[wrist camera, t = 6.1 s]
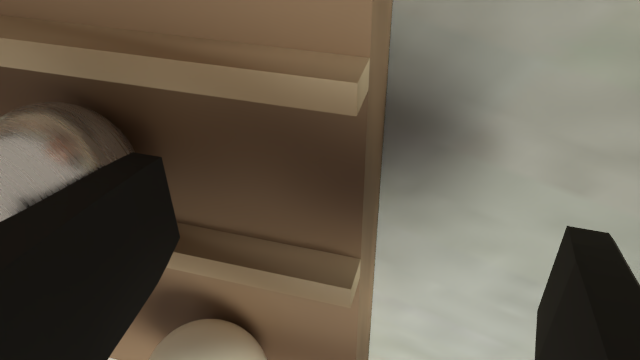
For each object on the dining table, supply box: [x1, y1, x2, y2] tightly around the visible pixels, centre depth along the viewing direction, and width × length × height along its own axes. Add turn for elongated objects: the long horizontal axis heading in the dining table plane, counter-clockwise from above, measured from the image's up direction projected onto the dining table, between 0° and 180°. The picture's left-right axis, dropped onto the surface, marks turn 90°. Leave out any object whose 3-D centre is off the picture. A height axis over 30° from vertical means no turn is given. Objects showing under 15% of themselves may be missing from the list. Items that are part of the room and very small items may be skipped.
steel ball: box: [0, 102, 135, 222], centre depth 11 cm, size 3×3×3 cm
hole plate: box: [0, 0, 393, 360], centre depth 13 cm, size 18×16×3 cm
